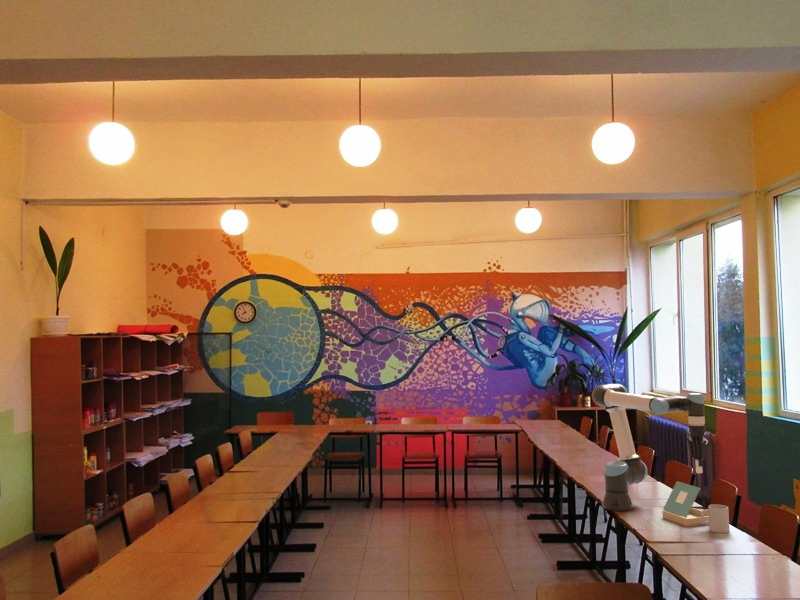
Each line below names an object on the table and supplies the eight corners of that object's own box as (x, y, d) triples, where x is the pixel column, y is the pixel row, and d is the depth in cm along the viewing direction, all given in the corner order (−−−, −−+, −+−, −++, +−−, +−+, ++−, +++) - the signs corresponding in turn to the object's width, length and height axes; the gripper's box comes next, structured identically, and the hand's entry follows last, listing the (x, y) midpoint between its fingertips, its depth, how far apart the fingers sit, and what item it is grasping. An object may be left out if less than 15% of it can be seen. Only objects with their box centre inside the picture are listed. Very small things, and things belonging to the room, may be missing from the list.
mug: (726, 528, 319) (725, 504, 319) (731, 533, 310) (730, 509, 311) (699, 527, 321) (698, 503, 321) (703, 532, 312) (702, 508, 313)
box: (687, 526, 322) (687, 519, 322) (662, 517, 338) (662, 510, 338) (715, 522, 328) (715, 515, 328) (690, 514, 344) (689, 507, 344)
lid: (686, 517, 323) (685, 517, 323) (663, 509, 338) (662, 509, 337) (700, 488, 326) (699, 487, 326) (677, 481, 341) (676, 481, 341)
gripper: (712, 425, 332) (715, 474, 331) (693, 422, 344) (695, 469, 343) (700, 426, 330) (702, 476, 328) (681, 423, 342) (683, 471, 341)
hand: (699, 472), depth 336 cm, fingers closed
